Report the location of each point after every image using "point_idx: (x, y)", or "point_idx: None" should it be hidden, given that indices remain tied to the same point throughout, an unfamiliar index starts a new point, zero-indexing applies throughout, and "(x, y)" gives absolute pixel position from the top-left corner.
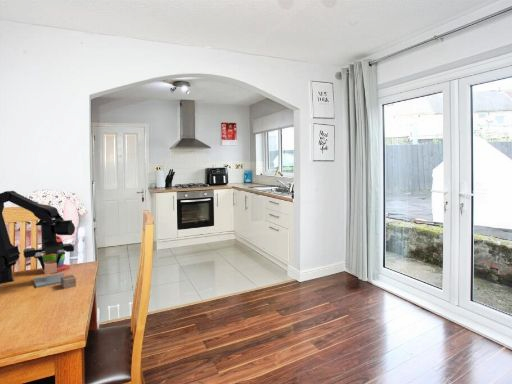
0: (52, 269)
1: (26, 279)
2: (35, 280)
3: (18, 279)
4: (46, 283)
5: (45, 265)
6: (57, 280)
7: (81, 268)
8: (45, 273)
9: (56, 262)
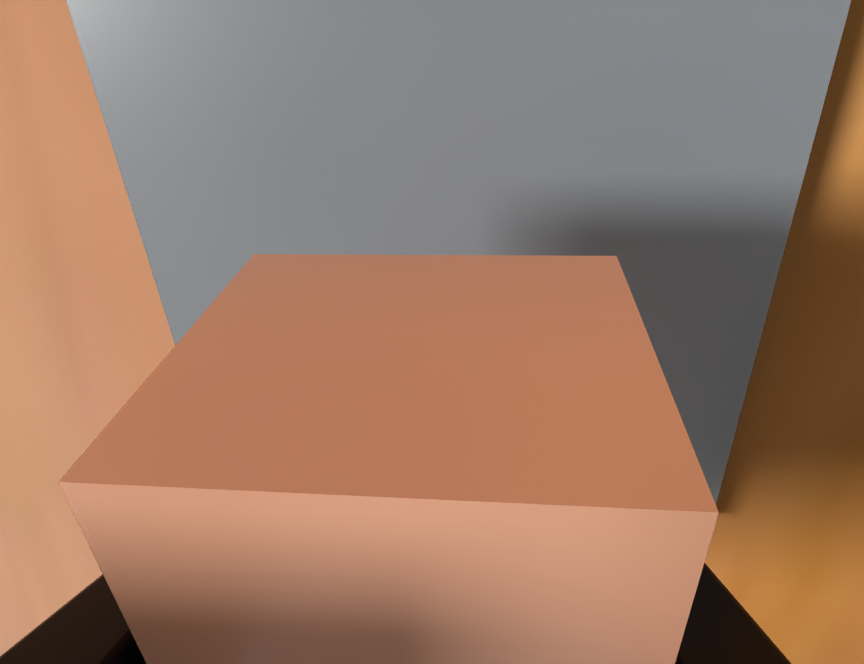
0: (360, 314)
1: (763, 587)
2: (715, 407)
3: (848, 642)
4: (584, 30)
5: (675, 498)
6: (320, 124)
7: (14, 590)
8: (608, 264)
9: (124, 640)
